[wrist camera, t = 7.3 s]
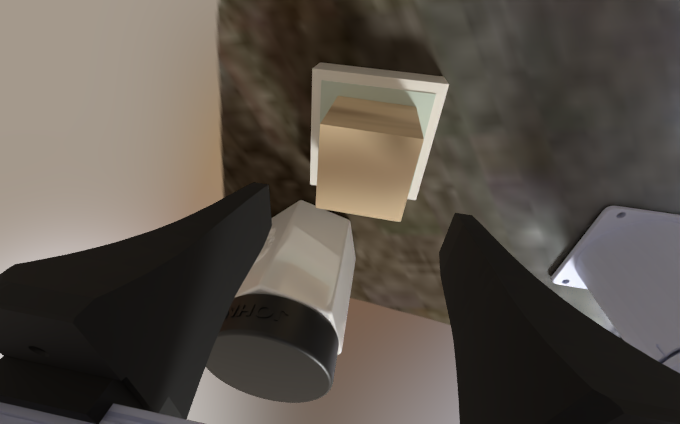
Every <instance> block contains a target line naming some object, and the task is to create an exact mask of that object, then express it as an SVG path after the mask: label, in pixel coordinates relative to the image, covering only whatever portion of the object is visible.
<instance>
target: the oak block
mask: <svg viewBox="0 0 680 424" xmlns="http://www.w3.org/2000/svg"><path fill="white" fill-rule="evenodd" d="M423 141H424V137H423V133H422V129H421V125H420V121H419V116H418V112H417V108H416V107H415V106H408V105H401V104H394V103H386V102H379V101H372V100H365V99H358V98H351V97H344V96H337V98H336V100H335V101H334V103H333V104H332V106H331V107H330V109H329V111H328V112H327V114H326V115H325V117H324V119H323V120H322V122H321V123H320V134H319V152H318V171H317V189H316V207H315V208H320V209H326V210H332V211H337V212H343V213H349V214H355V215H361V216H367V217H373V218H379V219H385V220H391V221H397V222H401V218H402V215H403V211H404V208H405V204H406V201H407V197H408V194H409V190H410V187H411V183H412V180H413V176H414V173H415V169H416V166H417V162H418V159H419V155H420V152H421V148H422V145H423Z"/></svg>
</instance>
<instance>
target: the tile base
mask: <svg viewBox="0 0 680 424" xmlns="http://www.w3.org/2000/svg"><path fill="white" fill-rule="evenodd" d="M448 86H449V84H448V82H447V81H446V80H445V78H444V77H443V76H434V75H425V74H417V73H408V72H399V71H391V70H382V69H373V68H365V67H356V66H347V65H339V64H330V63H322V62H320V63H319V64H318V65H316V66H315V67H314V68H312V110H311V160H310V184H311V185H317V171H318V152H319V134H320V123H321V122H322V120H323V119H324V117H325V115H326V114H327V112H328V111H329V109H330V107H331V106H332V104H333V103H334V101H335V100H336V98H337V96H344V97H351V98H358V99H365V100H372V101H379V102H386V103H394V104H401V105H408V106H415V107H416V108H417V112H418V116H419V121H420V125H421V129H422V133H423V137H424V141H423V145H422V148H421V152H420V155H419V159H418V162H417V166H416V169H415V173H414V176H413V180H412V183H411V187H410V190H409V194H408V197H407V199H411V200H416V198H417V194H418V191H419V187H420V184H421V180H422V177H423V174H424V170H425V167H426V163H427V160H428V156H429V153H430V149H431V146H432V142H433V139H434V135H435V132H436V128H437V125H438V121H439V118H440V114H441V111H442V107H443V104H444V100H445V97H446V93H447V90H448Z"/></svg>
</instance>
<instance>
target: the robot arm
mask: <svg viewBox="0 0 680 424" xmlns="http://www.w3.org/2000/svg"><path fill="white" fill-rule="evenodd" d="M621 212H622V213H621ZM619 213H621V214H619ZM617 214H619V215H617ZM271 227H272V219H271V206H270V194H269V185H267V184H261V183H252V184H249V185H247V186H245V187H244V188H242V189H240V190H238V191H236V192H234V193H232V194H231V195H229V196H227V197H225V198H223V199H222V200H220V201H218V202H216V203H214V204H212V205H210V206H208V207H206V208H204V209H202V210H200V211H198V212H196V213H194V214H192V215H189V216H187V217H185V218H183V219H181V220H178V221H176V222H174V223H171V224H168V225H166V226H163V227H161V228H158V229H156V230H153V231H150V232H147V233H144V234H141V235H138V236H134V237H131V238H128V239H125V240H122V241H119V242H116V243H111V244H108V245H104V246H100V247H96V248H92V249H88V250H85V251H80V252H76V253H72V254H67V255H62V256H57V257H52V258H47V259H42V260H36V261H31V262H27V263H20V264H15V265H13V266H12V267H10V268H9V269H7V270H6V271H4V272H3V273H1V274H0V353H1V354H2V355H4V356H3V357H2V358H1V359H0V424H204V423H199V422H195V421H191V420H186V419H187V416H188V413H189V410H190V407H191V404H192V402H193V399H194V396H195V393H196V391H197V388H198V385H199V382H200V379H201V377H202V374H203V371H204V369H205V366H206V364H207V361H208V359H209V356H210V353H211V351H212V348H213V346H214V343H215V341H216V339H217V336H218V334H219V331H220V329H221V327H222V324H223V322H224V320H225V317H226V315H227V313H228V311H229V308H230V306H231V304H232V302H233V300H234V298H235V296H236V294H237V292H238V290H239V288H240V287H241V285H242V283H243V281H244V280H245V278H246V276H247V275H248V273H249V271H250V269H251V268H252V266H253V264H254V262H255V261H256V259H257V257H258V255H259V254H260V252H261V250H262V248H263V247H264V244H265V242H266V240H267V237H268V235H269V232H270V229H271ZM439 257H440V273H441V280H442V285H443V290H444V295H445V300H446V305H447V309H448V314H449V319H450V324H451V328H452V334H453V340H454V349H455V359H456V370H457V383H458V396H459V414H460V424H680V215H677V214H670V213H663V212H656V211H649V210H642V209H635V208H628V207H621V206H609V207H607V208H605V209H604V210H603V211H602V212H601V214H600V215H599V216H598V217H597V219H596V220H595V221H594V223H593V224H592V225H591V226H590V228H589V229H588V230H587V232H586V233H585V234H584V235H583V237H582V238H581V239H580V241H579V242H578V243H577V244H576V246H575V247H574V248H573V250H572V251H571V252H570V253H569V255H568V256H567V257H566V259H565V260H564V261H563V262H562V264H561V265H560V266H559V268H558V269H557V270H556V271H555V273H554V274H553V275H552V277H551V280H552V282H553V283H555V284H559V285H565V286H571V287H577V288H583V289H588V290H589V291H590V293H591V294H592V296H593V297H594V298H595V300H596V301H597V303H598V304H599V306H600V307H601V309H602V310H603V311H604V313H605V314H606V316H607V317H608V319H609V320H610V321H611V323H612V324H613V326H614V327H615V329H616V330H617V332H618V333H619V334H620V336H621V337H622V339H623V340H622V339H620V338H619V337H617V336H616V335H614V334H613V333H611V332H609V331H608V330H606V329H605V328H603V327H602V326H600V325H599V324H597V323H596V322H594V321H593V320H592V319H590V318H589V317H587V316H586V315H584V314H583V313H581V312H580V311H578V310H577V309H576V308H574V307H573V306H572V305H570V304H569V303H567V302H566V301H565V300H563V299H562V298H561V297H560V296H558V295H557V294H556V293H555V292H553V291H552V290H551V289H549V288H548V287H547V286H546V285H544V284H543V283H542V282H541V281H540V280H538V279H537V278H536V277H535V276H534V275H533V274H532V273H530V272H529V271H528V270H527V269H526V268H525V267H524V266H523V265H522V264H520V263H519V262H518V261H517V260H516V259H515V258H514V257H513V256H512V255H511V254H510V253H509V252H508V251H507V250H506V249H505V248H504V247H503V246H502V245H501V244H500V243H499V242H498V241H497V240H496V239H495V238H494V237H493V236H492V235H491V234H490V233H489V232H488V231H487V230H486V229H485V228H484V227H483V226H482V225H481V224H480V223H479V222H478V221H477V220H476V219H475V218H474V217H473V216H472V215H466V214H459V213H455V214H454V217H453V219H452V222H451V224H450V227H449V229H448V232H447V234H446V237H445V239H444V242H443V244H442V247H441V250H440V252H439Z"/></svg>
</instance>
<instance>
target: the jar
mask: <svg viewBox="0 0 680 424" xmlns="http://www.w3.org/2000/svg"><path fill="white" fill-rule="evenodd" d="M315 207H316V206H315V205H313V204H310V203H308V202H305V201H303V200H299V201H298V202H296V203H295V204H293V205H291V206H290V207H288V208H287V209H285V210H283V211H282V212H280V213H279V214H277V215H276V216H274V217H272V218H271V219H272V227H271V229H270V232H269V235H268V237H267V240H266V242H265V244H264V247H263V248H262V250H261V252H260V254H259V255H258V257H257V259H256V261H255V262H254V264H253V266H252V268H251V269H250V271H249V273H248V275H247V276H246V278H245V280H244V281H243V283H242V285H241V287H240V288H239V290H238V292H237V294H236V296H235V298H234V300H233V302H232V304H231V306H230V308H229V311H228V313H227V315H226V317H225V320H224V322H223V324H222V327H221V329H220V331H219V334H218V336H217V339H216V341H215V343H214V346H213V348H212V351H211V353H210V356H209V359H208V361H207V364H206V367H207V368H208V370H209V371H210V372H211V373H212V374H213V375H215V376H216V377H217V378H219V379H220V380H221V381H223V382H225V383H226V384H228V385H230V386H232V387H234V388H236V389H238V390H240V391H242V392H245V393H248V394H250V395H253V396H256V397H260V398H263V399H268V400H273V401H279V402H290V403H299V402H308V401H313V400H316V399H319V398H321V397H322V396H324V395H326V394H327V393H328V392H329V390H330V389H331V387H332V384H333V379H334V372H335V366H336V360H337V355H338V354H340V353H341V351H342V346H343V340H344V333H345V326H346V320H347V313H348V306H349V299H350V293H351V286H352V279H353V273H354V266H355V259H356V257H355V251H354V244H353V237H352V230H351V223H350V220H348V219H346V218H344V217H341V216H339V215H336V214H334V213H332V212H329V211H327V210H324V209H320V208H315Z"/></svg>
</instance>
